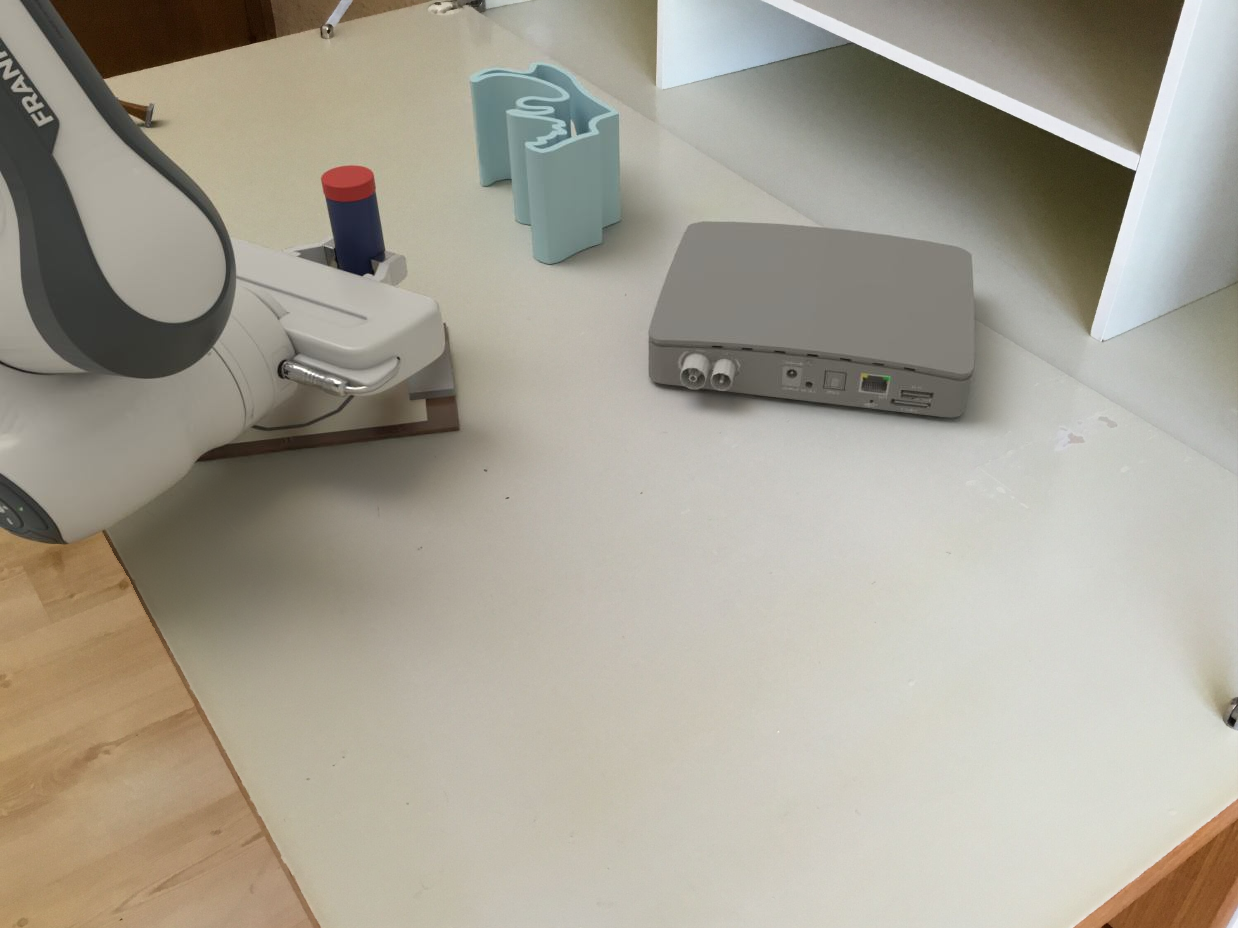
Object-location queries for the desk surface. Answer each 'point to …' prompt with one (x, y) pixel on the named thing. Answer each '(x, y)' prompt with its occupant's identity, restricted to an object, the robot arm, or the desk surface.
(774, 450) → the desk surface
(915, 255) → the electronic device
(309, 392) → the clipboard
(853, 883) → the desk surface
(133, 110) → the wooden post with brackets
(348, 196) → the marker
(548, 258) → the squiggly pen holder
